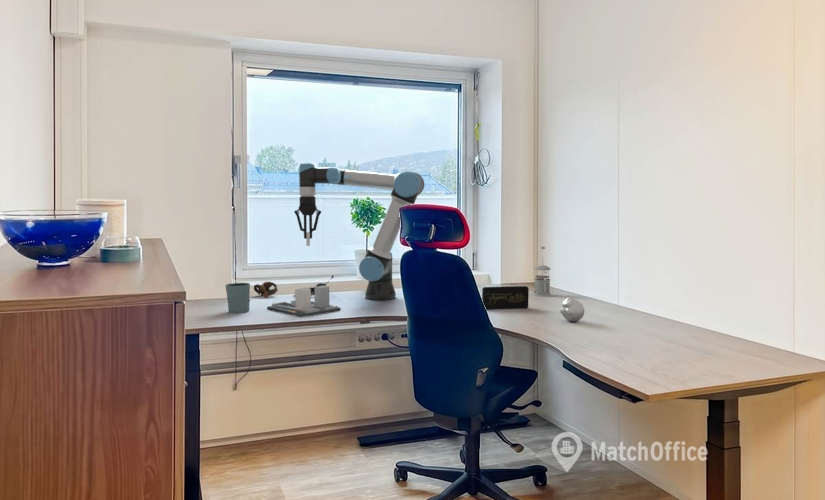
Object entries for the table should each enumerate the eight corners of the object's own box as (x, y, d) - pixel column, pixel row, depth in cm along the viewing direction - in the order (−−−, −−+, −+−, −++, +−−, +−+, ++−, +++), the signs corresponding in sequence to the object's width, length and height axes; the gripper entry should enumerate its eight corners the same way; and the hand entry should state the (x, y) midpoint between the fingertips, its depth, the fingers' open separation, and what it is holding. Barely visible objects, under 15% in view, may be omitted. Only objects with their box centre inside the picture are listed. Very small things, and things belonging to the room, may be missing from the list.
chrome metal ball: (558, 319, 244) (558, 294, 243) (581, 319, 243) (582, 295, 242) (561, 323, 235) (562, 298, 234) (586, 324, 234) (586, 299, 233)
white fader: (295, 309, 254) (295, 288, 254) (305, 308, 258) (305, 287, 257) (301, 311, 252) (300, 289, 251) (310, 309, 255) (310, 288, 254)
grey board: (267, 309, 263) (267, 304, 263) (306, 303, 278) (306, 298, 278) (300, 317, 246) (300, 311, 246) (340, 310, 261) (340, 305, 261)
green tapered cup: (249, 313, 254) (248, 285, 253) (224, 314, 252) (223, 286, 251) (251, 309, 264) (251, 282, 263) (227, 309, 262) (227, 282, 261)
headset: (334, 276, 297) (293, 282, 293) (336, 295, 298) (296, 301, 294) (332, 273, 310) (293, 278, 306) (334, 291, 311) (295, 296, 307)
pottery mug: (277, 295, 305) (280, 282, 301) (273, 306, 297) (276, 293, 293) (254, 289, 304) (256, 276, 299) (249, 300, 296) (251, 287, 291)
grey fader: (314, 307, 261) (314, 286, 261) (323, 305, 265) (323, 285, 264) (320, 308, 259) (320, 287, 258) (329, 306, 262) (329, 285, 262)
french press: (529, 295, 304) (530, 246, 302) (538, 292, 313) (539, 245, 311) (547, 297, 298) (548, 247, 296) (556, 294, 308) (557, 246, 306)
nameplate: (483, 310, 264) (483, 287, 263) (482, 309, 266) (482, 287, 265) (528, 308, 268) (528, 286, 267) (526, 307, 269) (527, 286, 269)
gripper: (320, 196, 288) (321, 244, 290) (293, 196, 286) (294, 245, 288) (321, 196, 281) (322, 245, 283) (293, 195, 278) (294, 246, 280)
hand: (308, 245), depth 285 cm, fingers closed
